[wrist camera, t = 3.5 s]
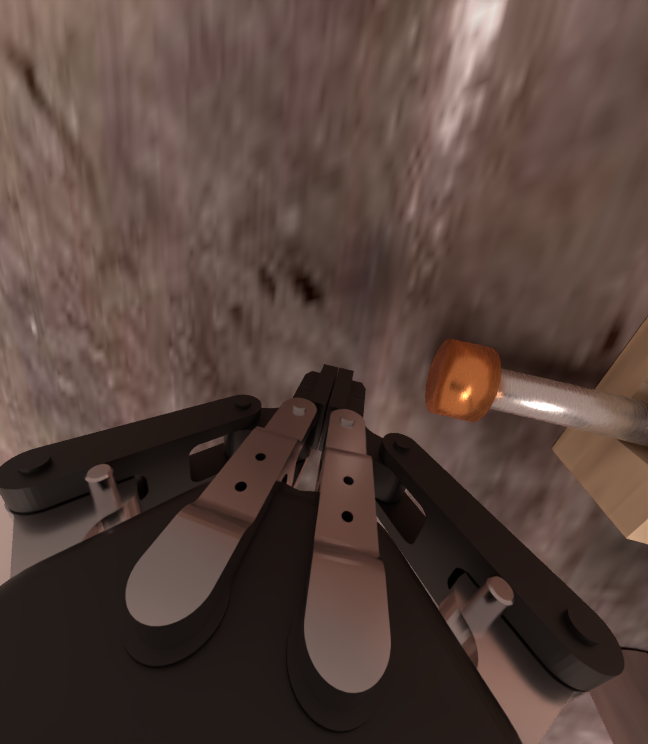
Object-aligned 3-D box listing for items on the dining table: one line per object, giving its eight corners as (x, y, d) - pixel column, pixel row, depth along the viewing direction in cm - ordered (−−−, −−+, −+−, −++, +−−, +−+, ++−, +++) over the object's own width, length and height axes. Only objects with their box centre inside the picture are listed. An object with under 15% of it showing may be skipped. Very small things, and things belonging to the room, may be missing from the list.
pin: (694, 383, 17) (799, 430, 13) (640, 441, 19) (715, 498, 15) (445, 329, 18) (465, 355, 14) (421, 389, 20) (432, 427, 16)
